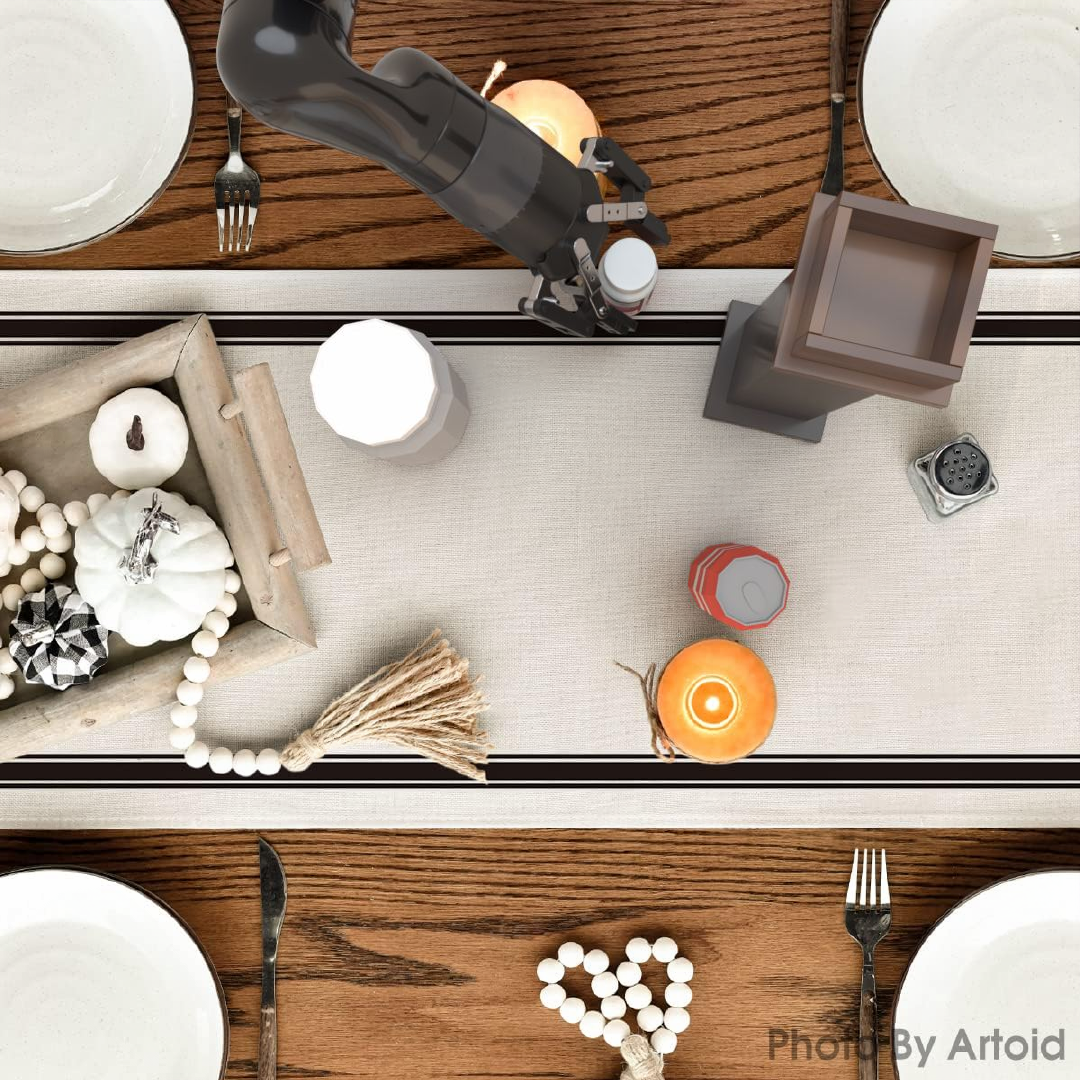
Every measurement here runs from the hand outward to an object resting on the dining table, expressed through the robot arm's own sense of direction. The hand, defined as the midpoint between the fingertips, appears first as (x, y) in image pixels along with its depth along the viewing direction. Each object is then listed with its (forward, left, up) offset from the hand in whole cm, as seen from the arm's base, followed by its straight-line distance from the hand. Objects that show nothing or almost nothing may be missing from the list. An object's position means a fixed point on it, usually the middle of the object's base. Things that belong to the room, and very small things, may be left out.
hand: (645, 284), depth 74 cm
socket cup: (+4, +12, +22) cm, 25 cm away
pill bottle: (0, -2, -5) cm, 5 cm away
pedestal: (+4, +12, -4) cm, 14 cm away
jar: (+14, -17, -5) cm, 22 cm away
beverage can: (+22, +12, -5) cm, 25 cm away
